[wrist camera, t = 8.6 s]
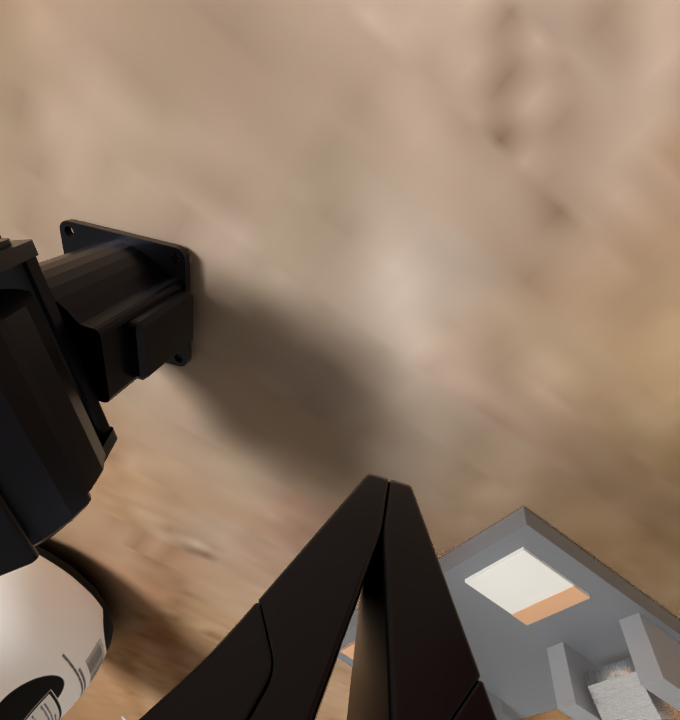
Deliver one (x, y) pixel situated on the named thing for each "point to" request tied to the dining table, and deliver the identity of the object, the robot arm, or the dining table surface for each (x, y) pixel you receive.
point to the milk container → (48, 638)
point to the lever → (624, 694)
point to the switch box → (550, 621)
